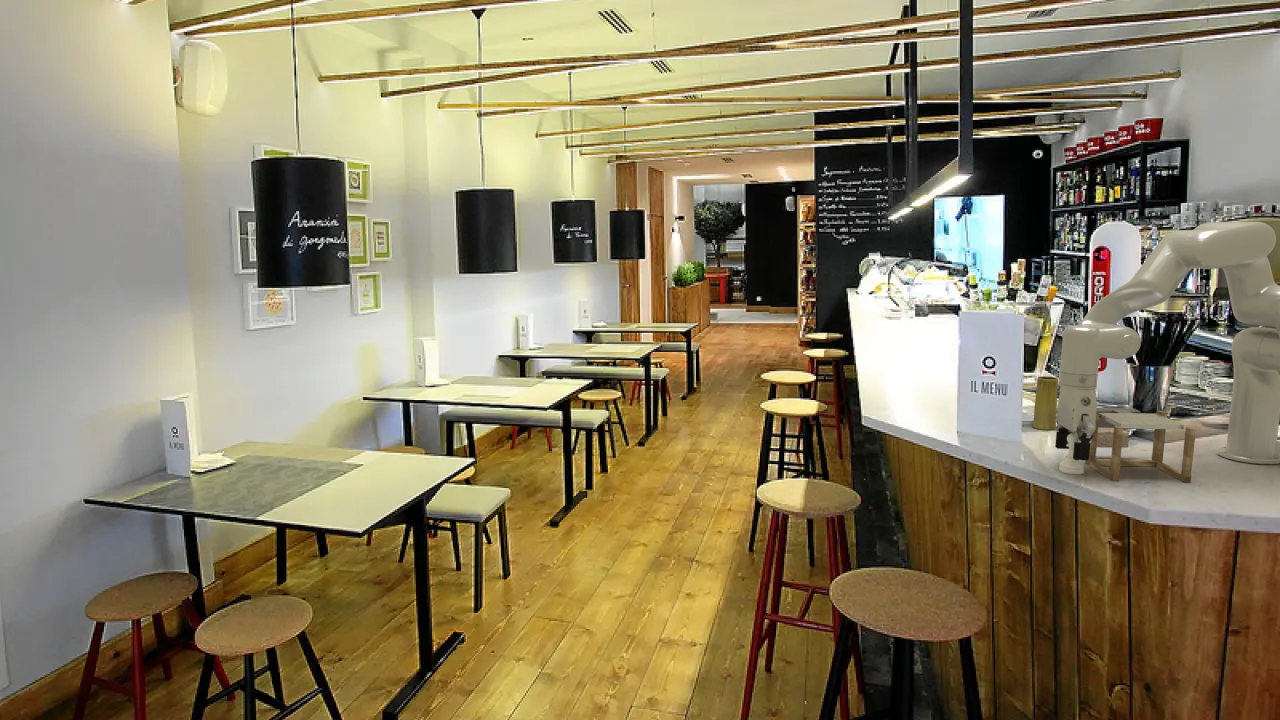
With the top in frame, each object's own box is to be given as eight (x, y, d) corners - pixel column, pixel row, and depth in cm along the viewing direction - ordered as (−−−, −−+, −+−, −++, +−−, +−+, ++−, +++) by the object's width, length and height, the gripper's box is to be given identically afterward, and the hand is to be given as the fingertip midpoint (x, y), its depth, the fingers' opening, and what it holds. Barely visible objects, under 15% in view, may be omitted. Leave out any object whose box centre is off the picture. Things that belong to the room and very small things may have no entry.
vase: (1057, 426, 226) (1061, 377, 224) (1055, 431, 221) (1059, 380, 218) (1033, 424, 229) (1036, 375, 227) (1030, 428, 224) (1034, 378, 222)
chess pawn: (1087, 471, 183) (1090, 433, 182) (1078, 476, 180) (1081, 437, 179) (1064, 467, 187) (1067, 429, 186) (1055, 471, 184) (1058, 433, 183)
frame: (1156, 464, 188) (1161, 410, 186) (1190, 482, 175) (1196, 424, 173) (1085, 463, 190) (1089, 409, 188) (1113, 480, 176) (1117, 423, 174)
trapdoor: (1081, 423, 196) (1082, 405, 195) (1137, 424, 194) (1139, 406, 194) (1119, 443, 177) (1121, 423, 176) (1182, 444, 175) (1184, 424, 175)
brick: (1130, 448, 204) (1131, 430, 203) (1096, 448, 204) (1098, 430, 203) (1095, 433, 220) (1097, 416, 220) (1064, 433, 220) (1066, 416, 220)
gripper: (1113, 387, 172) (1106, 465, 174) (1078, 374, 189) (1072, 445, 191) (1076, 387, 172) (1070, 464, 175) (1045, 373, 189) (1039, 444, 192)
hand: (1071, 454), depth 183 cm, fingers open, 9 cm apart
